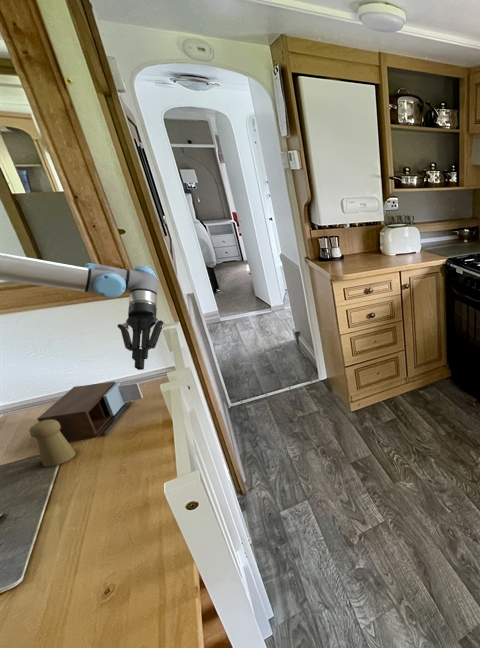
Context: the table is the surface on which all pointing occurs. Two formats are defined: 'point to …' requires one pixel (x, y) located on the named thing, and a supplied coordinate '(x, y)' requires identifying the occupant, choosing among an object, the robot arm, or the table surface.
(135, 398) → the sliding door
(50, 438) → the cork
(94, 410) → the cabinet
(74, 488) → the table surface
